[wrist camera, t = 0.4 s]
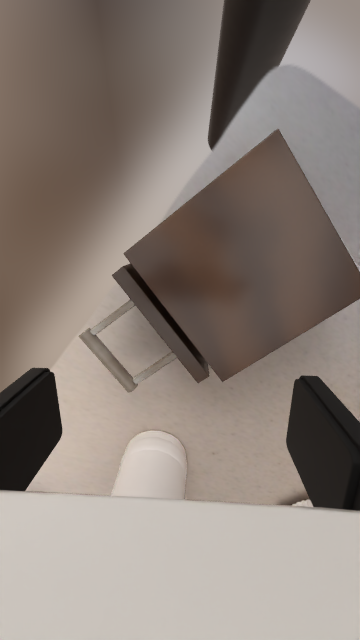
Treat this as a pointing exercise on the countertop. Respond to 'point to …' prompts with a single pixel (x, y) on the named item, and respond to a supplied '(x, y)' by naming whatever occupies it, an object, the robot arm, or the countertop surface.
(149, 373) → the drawer
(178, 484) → the bottle
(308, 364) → the countertop surface
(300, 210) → the cabinet
